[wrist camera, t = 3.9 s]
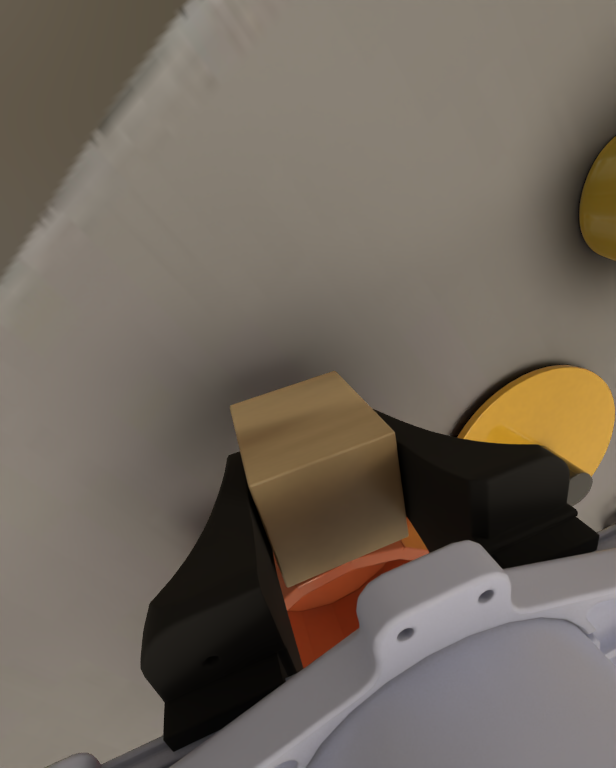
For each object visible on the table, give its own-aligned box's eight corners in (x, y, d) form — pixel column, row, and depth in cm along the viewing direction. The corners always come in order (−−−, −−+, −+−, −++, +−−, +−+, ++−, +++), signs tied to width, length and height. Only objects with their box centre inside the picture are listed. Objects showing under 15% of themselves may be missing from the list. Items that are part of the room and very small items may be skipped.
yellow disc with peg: (527, 538, 32) (574, 582, 28) (401, 514, 26) (437, 565, 22) (631, 394, 28) (701, 422, 24) (511, 331, 22) (577, 354, 19)
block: (352, 455, 17) (409, 537, 13) (259, 490, 17) (287, 589, 12) (335, 369, 15) (395, 431, 11) (229, 405, 15) (248, 487, 10)
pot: (382, 615, 30) (433, 718, 24) (145, 604, 23) (131, 749, 16) (465, 486, 27) (548, 567, 21) (219, 425, 19) (236, 523, 13)
